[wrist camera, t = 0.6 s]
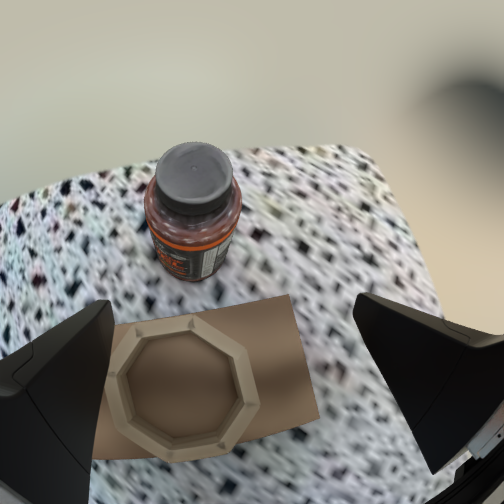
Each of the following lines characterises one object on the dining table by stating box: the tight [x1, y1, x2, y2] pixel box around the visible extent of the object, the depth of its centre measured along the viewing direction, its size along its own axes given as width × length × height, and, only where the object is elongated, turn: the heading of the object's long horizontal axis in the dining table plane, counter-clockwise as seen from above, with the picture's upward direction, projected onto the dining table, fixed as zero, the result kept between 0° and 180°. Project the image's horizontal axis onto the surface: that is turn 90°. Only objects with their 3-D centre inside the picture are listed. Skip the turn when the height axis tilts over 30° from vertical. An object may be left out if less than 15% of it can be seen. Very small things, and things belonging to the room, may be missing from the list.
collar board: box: [92, 294, 320, 463], centre depth 18 cm, size 11×20×4 cm, turn 104°
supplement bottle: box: [144, 142, 242, 281], centre depth 18 cm, size 6×6×11 cm
